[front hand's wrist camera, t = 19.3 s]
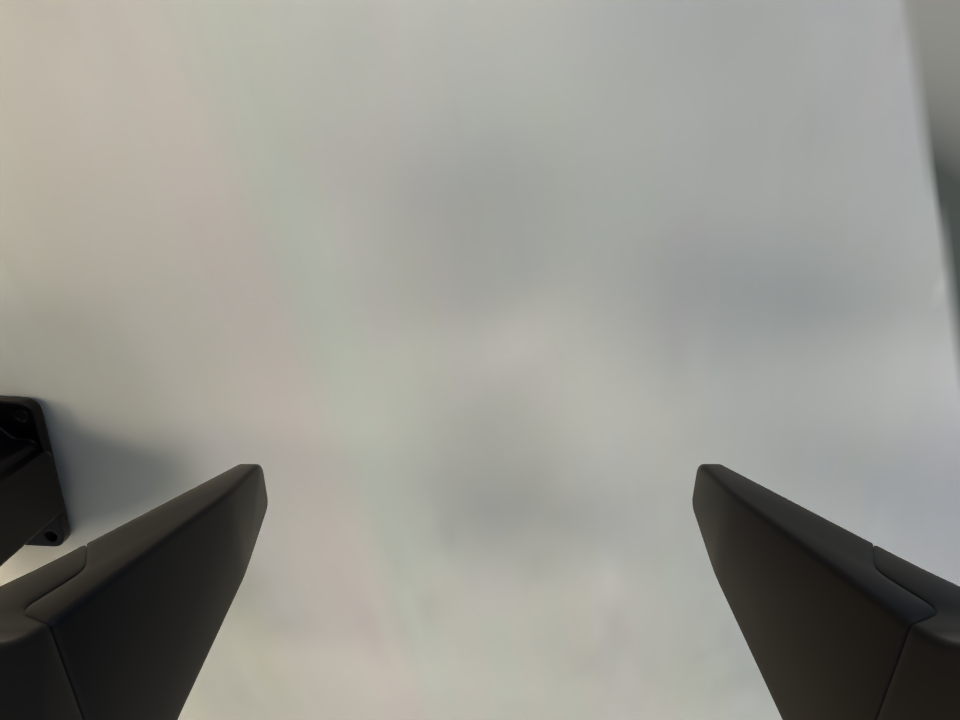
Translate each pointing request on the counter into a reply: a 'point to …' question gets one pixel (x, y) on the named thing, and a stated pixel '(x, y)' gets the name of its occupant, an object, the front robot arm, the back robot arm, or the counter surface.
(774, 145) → the counter surface
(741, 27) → the counter surface
